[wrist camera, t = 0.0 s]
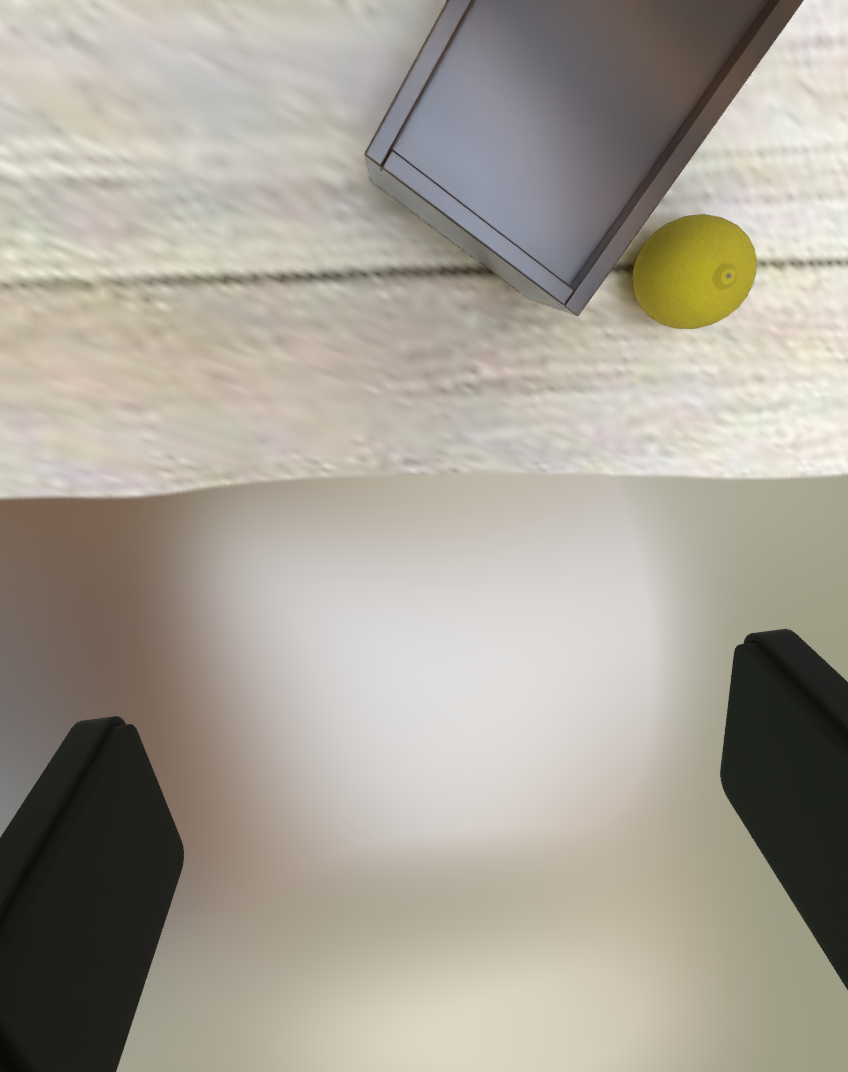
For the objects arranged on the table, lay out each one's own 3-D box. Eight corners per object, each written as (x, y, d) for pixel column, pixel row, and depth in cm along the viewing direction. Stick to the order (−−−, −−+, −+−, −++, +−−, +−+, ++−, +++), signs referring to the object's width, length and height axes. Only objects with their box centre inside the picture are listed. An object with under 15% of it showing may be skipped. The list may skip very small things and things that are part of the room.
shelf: (538, -129, 29) (611, -307, 20) (706, 38, 32) (838, -48, 23) (369, 180, 34) (363, 154, 24) (529, 299, 37) (578, 317, 27)
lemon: (726, 255, 36) (812, 257, 29) (662, 338, 38) (728, 360, 31) (657, 196, 35) (729, 182, 28) (594, 285, 37) (646, 295, 29)
